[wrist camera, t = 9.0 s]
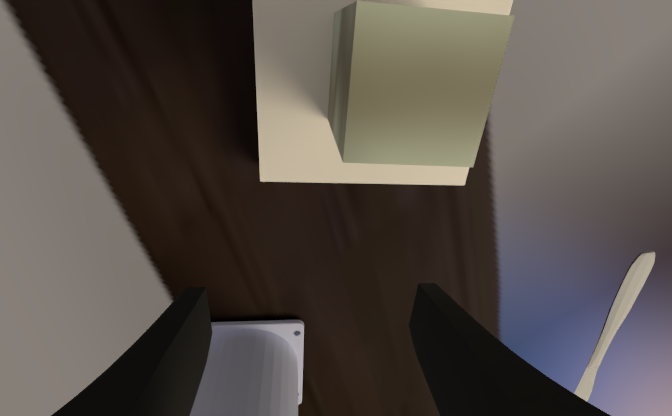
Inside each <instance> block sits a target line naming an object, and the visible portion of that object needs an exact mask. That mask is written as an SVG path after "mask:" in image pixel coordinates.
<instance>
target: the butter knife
mask: <svg viewBox="0 0 672 416" xmlns="http://www.w3.org/2000/svg"><path fill="white" fill-rule="evenodd" d="M654 261H655V253H654V252H653V251H645V252H642V253H640V254H639V255H638V256H637V257H636V259H635V260H634V261H633V262H632V264H631V265H630V267H629V269H628V271H627V272H626V275H625V277H624V279H623V281H622V283H621V285H620V287H619V289H618V291H617V293H616V296H615V298H614V300H613V302H612V305H611V307H610V309H609V312H608V315H607V318H606V320H605V323H604V326H603V329H602V331H601V334H600V336H599V339H598V341H597V344H596V346H595V348H594V351H593V353H592V356H591V358H590V360H589V362H588V365H587V368H586V370H585V373H584V374H583V376H582V379H581V381H580V383H579V385H578V387H577V389H576V391H575V393H574V394H575V395H577V396H578V397H580V398H581V399H583V400H585V401H586V402H587V401H588V399H589V396H590V394H591V392H592V389H593V385H594V381H595V377H596V373H597V370H598V367H599V366H600V364H601V361H602V359H603V356H604V354H605V352H606V350H607V348H608V346H609V344H610V343H611V341H612V339H613V337H614V335H615V333H616V332H617V330H618V328H619V327H620V325H621V324H622V322H623V320H624V319H625V317H626V316H627V314H628V313H629V311H630V309H631V307H632V305H633V303H634V302H635V300H636V298H637V296H638V294H639V292H640V290H641V288H642V287H643V285H644V283H645V281H646V279H647V277H648V275H649V273H650V271H651V268H652V267H653V264H654Z"/></svg>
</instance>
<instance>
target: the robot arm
mask: <svg viewBox="0 0 672 416" xmlns="http://www.w3.org/2000/svg"><path fill="white" fill-rule="evenodd" d="M409 328H410V332H411V336H412V341H413V344H414V348H415V352H416V355H417V358H418V360H419V363H420V365H421V368H422V370H423V373H424V376H425V378H426V381H427V383H428V386H429V388H430V391H431V393H432V396H433V398H434V401H435V403H436V406H437V408H438V411H439V413H440V416H610V415H609V414H607V413H605V412H603V411H601V410H600V409H598V408H596V407H595V406H593V405H591V404H590V403H588V402H586V401H585V400H583V399H581V398H580V397H578V396H577V395H575V394H573V393H572V392H570V391H569V390H567V389H565V388H564V387H562V386H561V385H559V384H558V383H556V382H555V381H553V380H552V379H550V378H549V377H547V376H546V375H544V374H543V373H541V372H540V371H539V370H537V369H536V368H534V367H533V366H531V365H530V364H529V363H527V362H526V361H525V360H523V359H522V358H520V357H519V356H518V355H516V354H515V353H514V352H513V351H511V350H510V349H509V348H508V347H506V346H505V345H504V344H503V343H502V342H500V341H499V340H498V339H497V338H495V337H494V336H493V335H492V334H491V333H489V332H488V331H487V330H486V329H485V328H484V327H483V326H481V325H480V324H479V323H478V322H477V321H476V320H475V319H473V318H472V317H471V316H470V315H469V314H468V313H467V312H466V311H465V310H464V309H463V308H461V307H460V306H459V305H458V304H457V303H456V302H455V301H454V300H453V299H452V298H451V297H450V296H449V295H448V294H447V293H445V292H444V291H443V290H442V289H441V288H440V287H439V286H438V285H437V284H435V283H420V284H418V288H417V293H416V297H415V301H414V306H413V310H412V314H411V319H410V323H409ZM295 331H298V332H295ZM303 347H304V323H303V322H302V321H301V320H270V321H237V322H211V319H210V312H209V306H208V299H207V292H206V287H201V288H186V289H184V290H183V291H182V293H181V294H180V295H179V296H178V297H177V298H176V299H175V300H174V301H173V303H172V304H171V305H170V306H169V307H168V308H167V309H166V310H165V311H164V313H163V314H162V315H161V316H160V317H159V318H158V319H157V320H156V321H155V322H154V323H153V324H152V325H151V327H150V328H149V329H148V330H147V331H146V332H145V333H144V334H143V335H142V336H141V337H140V338H139V339H138V340H137V341H136V342H135V343H134V344H133V345H132V346H131V347H130V348H129V349H128V350H127V351H126V352H125V353H124V354H123V355H122V356H121V357H120V358H119V359H118V360H116V361H115V362H114V363H113V364H112V365H111V366H110V367H109V368H108V369H107V370H106V371H105V372H104V373H102V374H101V375H100V376H99V377H98V378H97V379H96V380H94V381H93V382H92V383H91V384H90V385H89V386H88V387H86V388H85V389H84V390H83V391H82V392H80V393H79V394H78V395H77V396H76V397H74V398H73V399H72V400H71V401H69V402H68V403H67V404H66V405H64V406H63V407H62V408H61V409H60V410H58V411H57V412H55V413H54V414H53V415H52V416H298V405H299V404H300V403H301V402H302V382H303Z"/></svg>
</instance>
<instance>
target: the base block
mask: <svg viewBox="0 0 672 416" xmlns="http://www.w3.org/2000/svg"><path fill="white" fill-rule="evenodd" d="M355 1H365V2H375V3H386V4H396V5H406V6H417V7H427V8H438V9H448V10H458V11H469V12H479V13H490V14H500V15H509V14H510V10H511V7H512V3H513V0H252V3H253V27H254V50H255V73H256V97H257V120H258V143H259V166H260V181H263V182H316V183H368V184H421V185H465V182H466V178H467V174H468V170H469V167H453V166H424V165H395V164H366V163H343V162H342V159H341V156H340V153H339V150H338V147H337V145H336V142H335V139H334V136H333V133H332V130H331V127H330V125H329V122H328V105H329V89H330V73H331V56H332V40H333V24H334V13H335V12H337V11H338V10H340V9H342V8H344V7H346V6H348V5H350V4H352V3H354V2H355Z"/></svg>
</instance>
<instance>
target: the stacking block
mask: <svg viewBox="0 0 672 416" xmlns="http://www.w3.org/2000/svg"><path fill="white" fill-rule="evenodd" d="M514 18H515V16H510V15H500V14H490V13H479V12H469V11H458V10H448V9H438V8H427V7H417V6H406V5H396V4H386V3H375V2H365V1H355V2H354V3H352V4H350V5H348V6H346V7H344V8H342V9H340V10H338V11H337V12H335V13H334V24H333V40H332V56H331V73H330V89H329V105H328V122H329V125H330V127H331V130H332V133H333V136H334V139H335V142H336V145H337V147H338V150H339V153H340V156H341V159H342V162H343V163H366V164H395V165H424V166H453V167H473V166H474V162H475V158H476V155H477V151H478V148H479V144H480V140H481V137H482V133H483V130H484V126H485V122H486V119H487V115H488V111H489V108H490V104H491V101H492V97H493V93H494V90H495V86H496V83H497V79H498V75H499V72H500V68H501V65H502V61H503V57H504V54H505V50H506V46H507V43H508V39H509V35H510V32H511V28H512V25H513V21H514Z"/></svg>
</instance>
